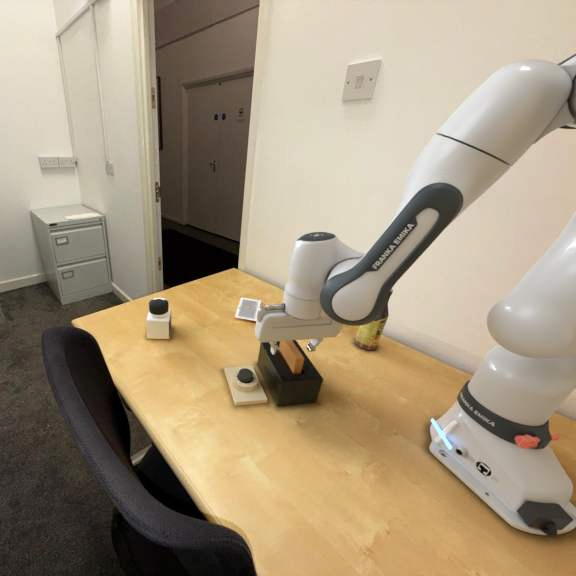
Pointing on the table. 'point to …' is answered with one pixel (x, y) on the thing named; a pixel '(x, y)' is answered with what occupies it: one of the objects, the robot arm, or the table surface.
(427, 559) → the table surface
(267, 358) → the toaster
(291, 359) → the toast
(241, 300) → the touchpad
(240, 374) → the button
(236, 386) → the control block
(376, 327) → the sauce bottle
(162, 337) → the medicine bottle
